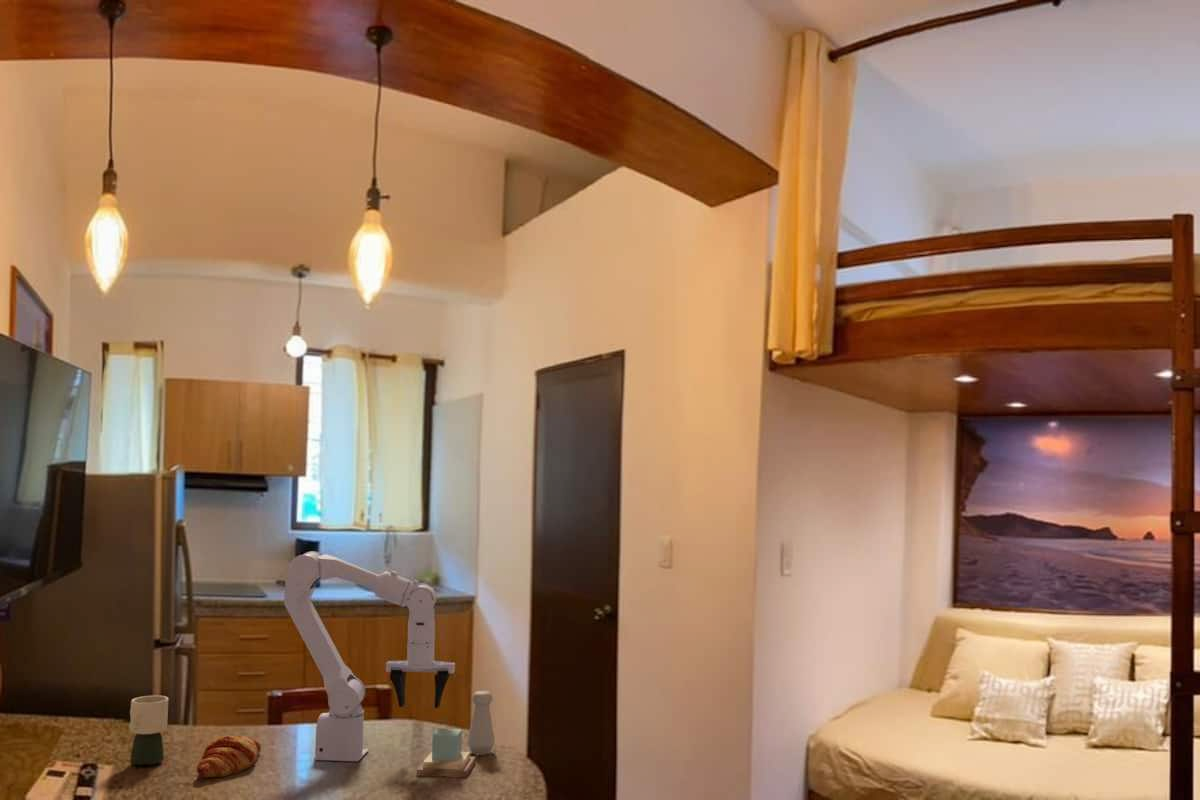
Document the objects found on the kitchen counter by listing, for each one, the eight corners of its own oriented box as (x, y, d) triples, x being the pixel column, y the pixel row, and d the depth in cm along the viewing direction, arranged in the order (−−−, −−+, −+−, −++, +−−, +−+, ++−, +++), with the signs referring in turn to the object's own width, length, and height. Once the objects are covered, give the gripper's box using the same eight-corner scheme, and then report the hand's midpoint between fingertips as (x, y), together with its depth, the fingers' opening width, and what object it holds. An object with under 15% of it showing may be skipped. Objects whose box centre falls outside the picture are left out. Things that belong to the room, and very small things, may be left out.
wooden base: (416, 775, 199) (416, 763, 200) (427, 760, 209) (428, 749, 210) (466, 777, 199) (466, 765, 199) (475, 762, 209) (475, 750, 209)
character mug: (148, 755, 210) (151, 692, 211) (178, 757, 208) (181, 694, 209) (113, 770, 199) (116, 704, 200) (145, 773, 198) (148, 706, 199)
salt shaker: (489, 757, 212) (490, 695, 213) (463, 755, 214) (465, 694, 214) (497, 750, 218) (499, 689, 219) (472, 748, 219) (474, 688, 220)
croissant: (245, 768, 213) (231, 733, 215) (285, 748, 212) (270, 713, 214) (187, 798, 193) (171, 759, 194) (230, 777, 191) (214, 737, 193)
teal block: (431, 760, 202) (432, 735, 202) (437, 753, 207) (437, 728, 207) (456, 761, 202) (457, 735, 202) (461, 753, 207) (461, 729, 207)
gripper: (382, 644, 211) (380, 710, 210) (450, 646, 210) (449, 711, 209) (391, 638, 218) (389, 702, 217) (457, 640, 217) (456, 703, 216)
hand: (419, 706), depth 213 cm, fingers open, 7 cm apart
